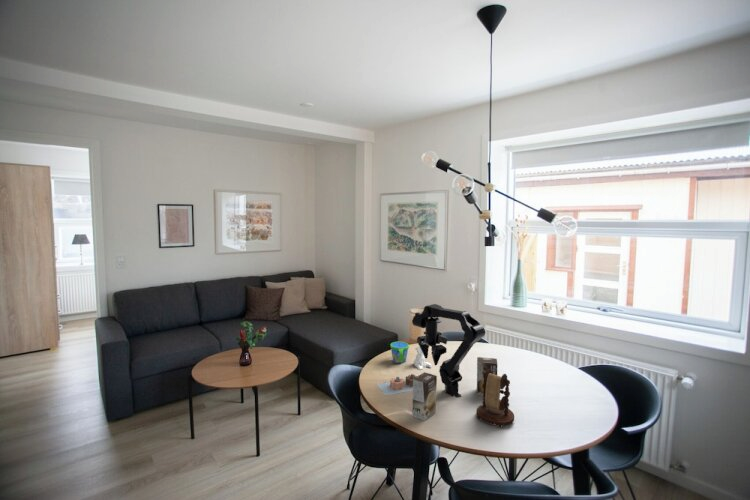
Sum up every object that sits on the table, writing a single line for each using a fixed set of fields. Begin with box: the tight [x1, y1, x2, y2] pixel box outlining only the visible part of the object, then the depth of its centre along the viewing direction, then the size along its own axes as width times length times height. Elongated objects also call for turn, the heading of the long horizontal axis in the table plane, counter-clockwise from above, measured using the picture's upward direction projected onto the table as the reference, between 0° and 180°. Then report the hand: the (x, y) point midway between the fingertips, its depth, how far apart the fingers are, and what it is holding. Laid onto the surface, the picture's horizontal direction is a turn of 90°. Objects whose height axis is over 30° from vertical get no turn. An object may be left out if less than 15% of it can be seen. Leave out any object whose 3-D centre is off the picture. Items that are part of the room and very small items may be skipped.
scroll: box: [476, 369, 515, 429], centre depth 150 cm, size 15×15×20 cm
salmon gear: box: [389, 377, 405, 390], centre depth 177 cm, size 7×7×3 cm
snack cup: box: [390, 341, 410, 365], centre depth 210 cm, size 16×10×10 cm
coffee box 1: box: [411, 372, 438, 422], centre depth 154 cm, size 9×6×16 cm
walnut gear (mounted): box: [405, 373, 418, 387], centre depth 180 cm, size 7×7×4 cm
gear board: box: [376, 378, 413, 396], centre depth 178 cm, size 12×22×1 cm, turn 112°
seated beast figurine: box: [413, 345, 433, 371], centre depth 202 cm, size 10×9×12 cm
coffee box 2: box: [476, 356, 498, 397], centre depth 172 cm, size 9×6×16 cm
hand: (430, 361), depth 180 cm, fingers open, 9 cm apart
